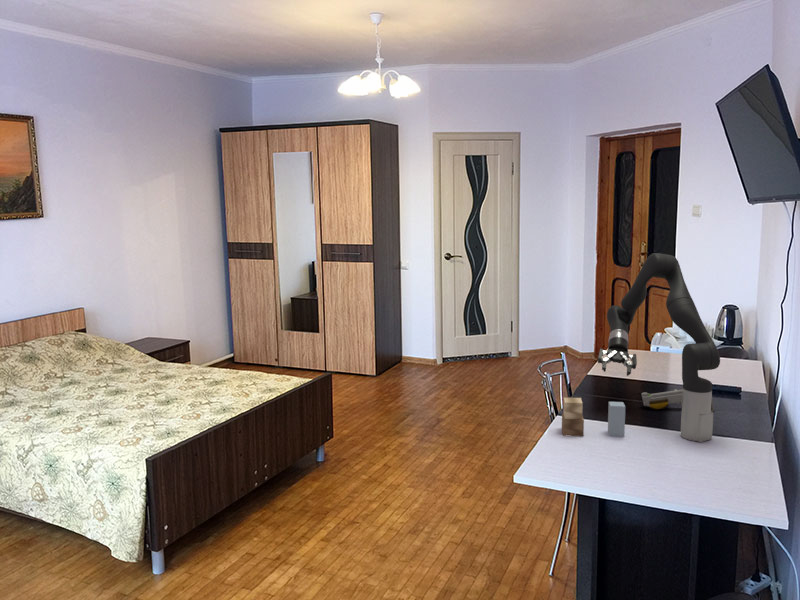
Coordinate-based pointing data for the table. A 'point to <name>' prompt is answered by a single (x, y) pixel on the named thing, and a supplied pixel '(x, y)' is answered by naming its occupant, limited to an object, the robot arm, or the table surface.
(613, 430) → the slate block
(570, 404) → the beech block
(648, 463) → the table surface
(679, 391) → the toy
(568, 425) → the walnut block
